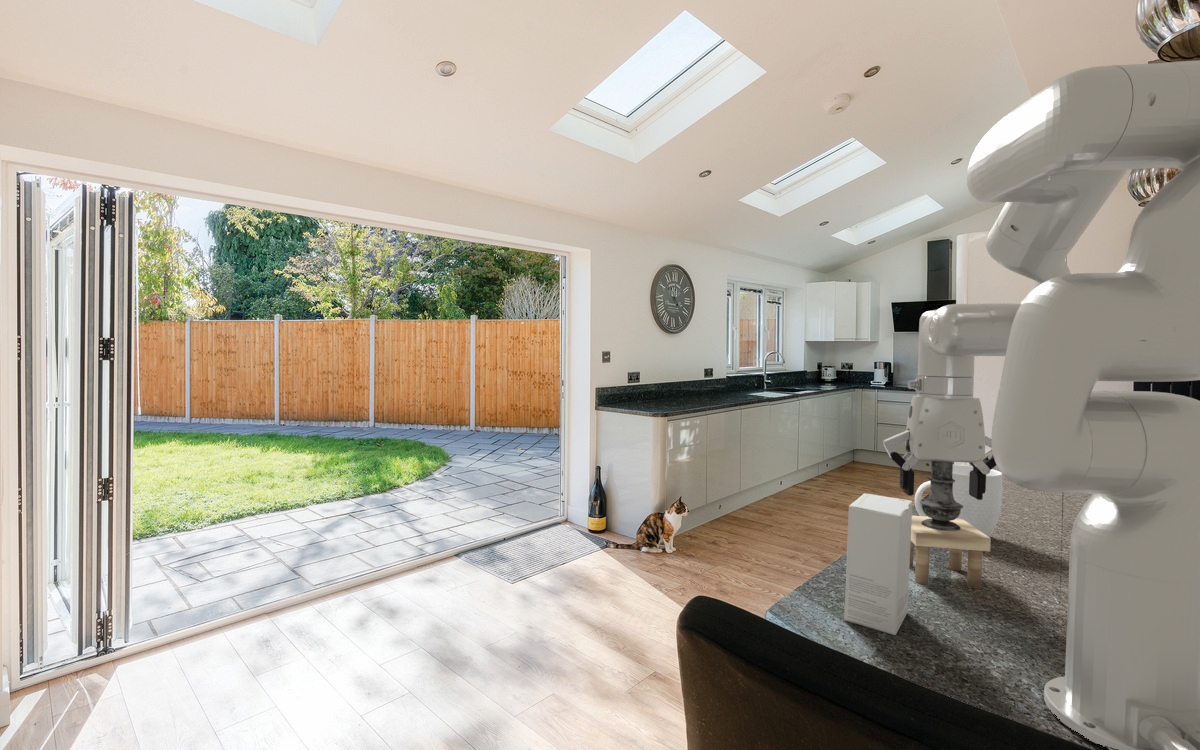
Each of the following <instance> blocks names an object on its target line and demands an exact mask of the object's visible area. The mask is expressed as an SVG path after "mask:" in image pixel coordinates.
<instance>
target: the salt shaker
mask: <svg viewBox="0 0 1200 750" xmlns="http://www.w3.org/2000/svg"><path fill="white" fill-rule="evenodd" d="M953 464H954V462H945V461H931V467H930V468H931V471H930V473H931V475H930V477H928V481H931V483H930V487H929V488H930V490H929V493H928V496H927V497H926V498H923V499H922V498H921V500H920V503H921V507H922V510H923V512H924V514H925V515H926V516H928V517H930V518H932V519H926V520H924V521H922V522H921V524H922V525H924V526H926V527H929V528H932V529H937V530H945V531H957V530H960V526H958V525H957V524H956V523H954V522H951V520H955V519H956V518H957V517H958V516H959V514H960V512H961V509H962V508H963V505H962V504H960V503H957V502H956V501H955V500H954V497H953V483H954V482H955V480H954V479H952V473H953Z"/></svg>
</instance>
